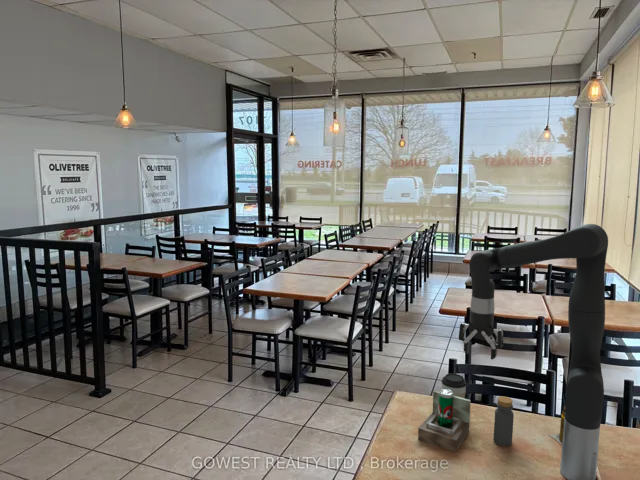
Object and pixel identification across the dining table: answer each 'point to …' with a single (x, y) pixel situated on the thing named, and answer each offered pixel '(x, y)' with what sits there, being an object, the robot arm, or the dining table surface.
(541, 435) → the dining table surface
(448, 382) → the coffee cup
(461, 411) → the display stand
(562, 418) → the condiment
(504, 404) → the bottle
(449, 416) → the soda can
